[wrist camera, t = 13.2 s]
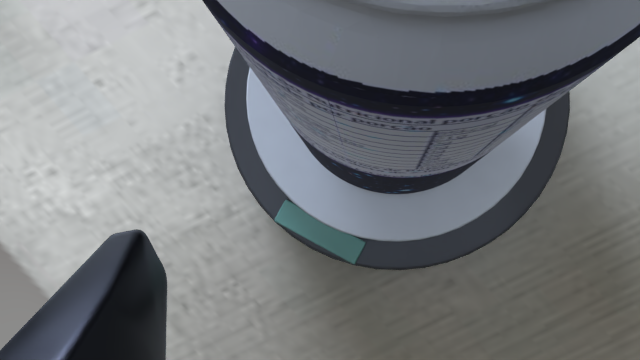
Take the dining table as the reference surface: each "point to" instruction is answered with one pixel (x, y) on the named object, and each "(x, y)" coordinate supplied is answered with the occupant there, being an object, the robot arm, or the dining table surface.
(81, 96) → the dining table surface
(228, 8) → the beverage can
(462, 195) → the kitchen scale
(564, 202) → the dining table surface
